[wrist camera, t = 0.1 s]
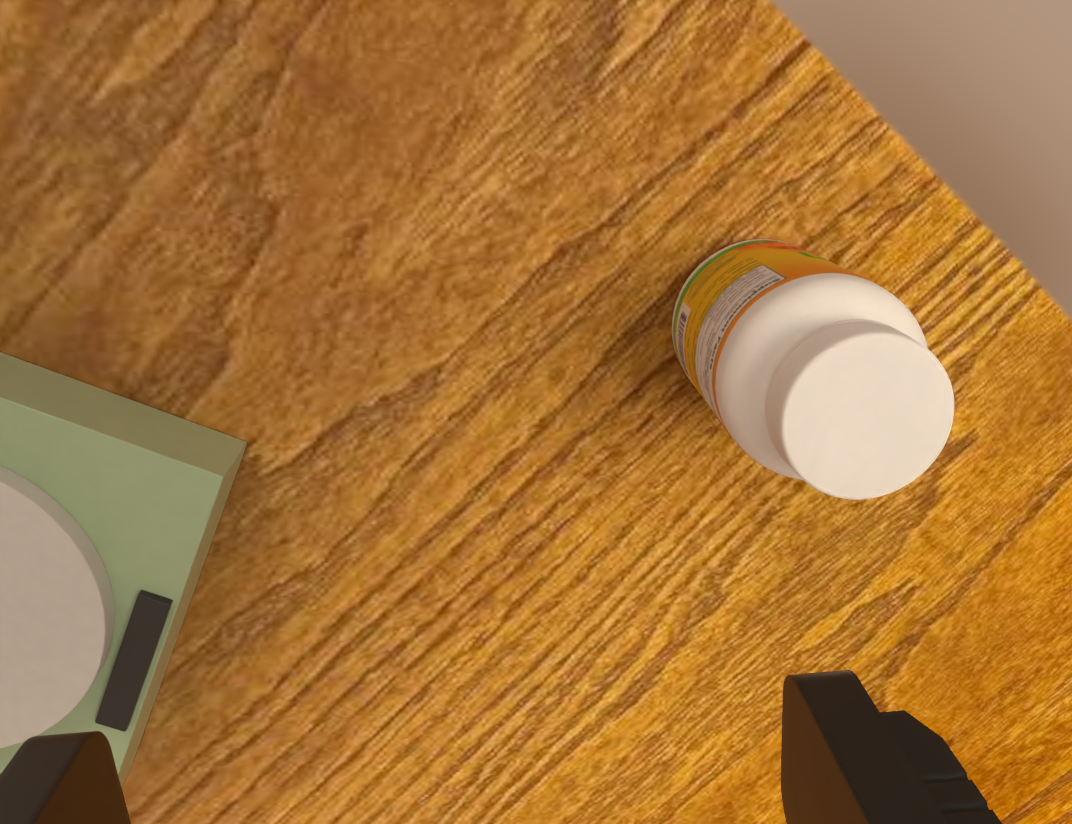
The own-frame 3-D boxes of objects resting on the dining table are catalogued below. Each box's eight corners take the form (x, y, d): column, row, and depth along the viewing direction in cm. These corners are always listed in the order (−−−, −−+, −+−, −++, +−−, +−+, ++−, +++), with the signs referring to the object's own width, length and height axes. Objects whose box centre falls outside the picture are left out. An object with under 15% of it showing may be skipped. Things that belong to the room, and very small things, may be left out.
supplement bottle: (868, 313, 30) (1036, 409, 21) (748, 431, 31) (858, 571, 22) (755, 199, 29) (882, 248, 20) (634, 327, 30) (700, 430, 21)
